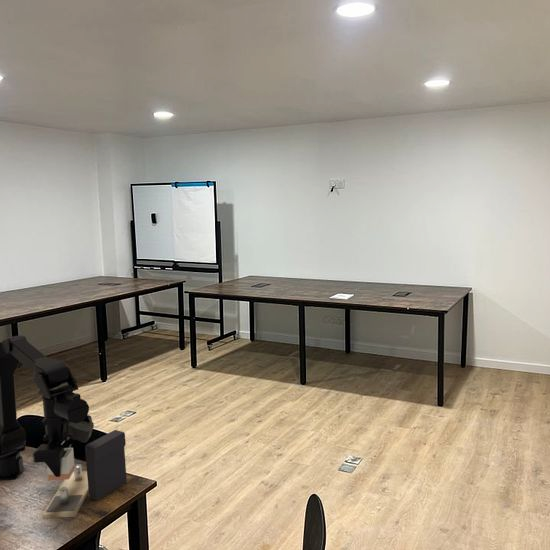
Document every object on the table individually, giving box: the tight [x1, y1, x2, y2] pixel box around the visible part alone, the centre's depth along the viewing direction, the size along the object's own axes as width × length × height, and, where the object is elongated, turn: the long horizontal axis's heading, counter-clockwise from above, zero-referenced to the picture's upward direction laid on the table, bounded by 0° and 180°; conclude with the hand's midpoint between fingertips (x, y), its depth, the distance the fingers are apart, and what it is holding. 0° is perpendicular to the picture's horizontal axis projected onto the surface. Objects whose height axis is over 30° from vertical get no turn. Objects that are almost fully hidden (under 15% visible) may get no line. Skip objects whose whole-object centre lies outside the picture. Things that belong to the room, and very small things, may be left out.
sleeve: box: [46, 447, 76, 481], centre depth 138 cm, size 5×5×6 cm
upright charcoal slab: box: [84, 429, 128, 501], centre depth 146 cm, size 11×4×15 cm, turn 151°
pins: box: [58, 463, 83, 505], centre depth 145 cm, size 2×14×4 cm, turn 3°
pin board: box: [42, 470, 89, 519], centre depth 145 cm, size 8×21×1 cm, turn 3°
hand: (61, 471), depth 138 cm, fingers closed on sleeve, 5 cm apart
